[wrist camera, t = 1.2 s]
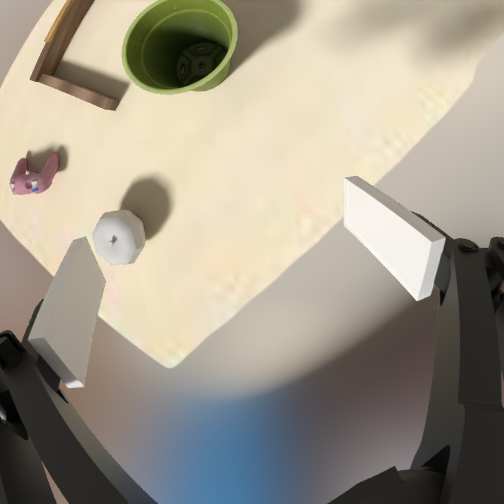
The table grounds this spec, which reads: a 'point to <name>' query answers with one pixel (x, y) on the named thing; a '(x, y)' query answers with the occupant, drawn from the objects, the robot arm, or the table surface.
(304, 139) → the table surface
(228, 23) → the plant pot
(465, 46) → the table surface
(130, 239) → the apple
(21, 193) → the video game controller
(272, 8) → the table surface
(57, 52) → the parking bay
